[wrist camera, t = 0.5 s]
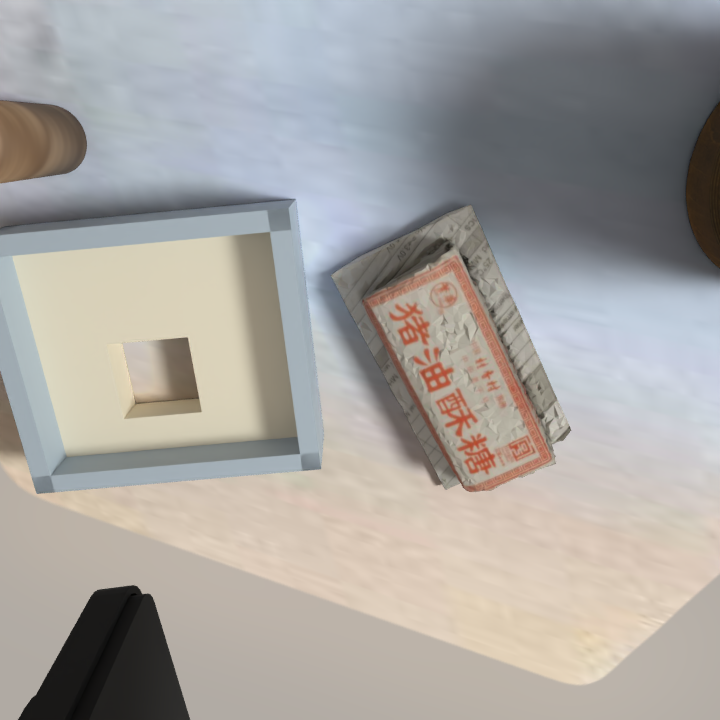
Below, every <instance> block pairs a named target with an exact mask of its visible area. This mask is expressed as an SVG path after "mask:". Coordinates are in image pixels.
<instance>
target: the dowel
mask: <svg viewBox="0 0 720 720" xmlns="http://www.w3.org/2000/svg"><path fill="white" fill-rule="evenodd" d="M86 149H87V141H86V136H85V132H84V130H83V128H82V126H81V124H80V123H79V121H78V120H77V119H76V118H75V116H73V115H72V114H71V113H70V112H69V111H67V110H65V109H63V108H61V107H59V106H55V105H47V104H36V103H24V102H13V101H2V100H0V183H6V182H13V181H19V180H26V179H33V178H40V177H46V176H53V175H60V174H66V173H69V172H71V171H73V170H74V169H76V168H77V167H78V166H79V165H80V164H81V163H82V161H83V159H84V157H85V154H86Z"/></svg>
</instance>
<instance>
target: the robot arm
mask: <svg viewBox="0 0 720 720" xmlns="http://www.w3.org/2000/svg"><path fill="white" fill-rule="evenodd" d="M18 720H190V718H189V714H188V711H187V708H186V705H185V701H184V698H183V695H182V691H181V688H180V685H179V681H178V678H177V675H176V672H175V668H174V665H173V662H172V659H171V655H170V652H169V649H168V645H167V643H166V639H165V635H164V632H163V629H162V625H161V623H160V619H159V616H158V612H157V609H156V606H155V602H154V600H153V597H152V596H151V595H150V594H142V593H141V591H140V589H139V588H138V587H137V586H134V585H132V586H124V587H116V588H109V589H101V590H97V591H95V592H94V594H93V595H92V596H91V597H90V599H89V601H88V603H87V604H86V606H85V608H84V610H83V612H82V613H81V615H80V617H79V619H78V621H77V623H76V624H75V626H74V628H73V630H72V631H71V633H70V635H69V637H68V639H67V640H66V642H65V644H64V646H63V647H62V650H61V651H60V653H59V655H58V656H57V658H56V660H55V662H54V664H53V665H52V667H51V669H50V671H49V673H48V674H47V676H46V678H45V680H44V682H43V683H42V685H41V687H40V689H39V691H38V692H37V694H36V696H34V697H33V698H32V699H31V700H30V702H29V703H28V704H27V706H26V707H25V708H24V710H23V712H22V714H21V716H20V717H19V719H18Z"/></svg>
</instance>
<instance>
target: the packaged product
mask: <svg viewBox="0 0 720 720" xmlns="http://www.w3.org/2000/svg"><path fill="white" fill-rule="evenodd" d="M331 277H332V279H333V281H334V283H335V285H336V287H337V288H338V290H339V292H340V294H341V296H342V298H343V300H344V302H345V304H346V306H347V308H348V310H349V312H350V314H351V315H352V317H353V319H354V321H355V323H356V324H357V326H358V328H359V330H360V332H361V334H362V336H363V338H364V340H365V342H366V343H367V345H368V347H369V349H370V351H371V353H372V354H373V356H374V358H375V360H376V362H377V364H378V365H379V367H380V369H381V371H382V373H383V375H384V376H385V378H386V380H387V382H388V384H389V386H390V388H391V390H392V392H393V394H394V396H395V397H396V399H397V401H398V402H399V404H400V405H401V406H402V407H403V410H404V413H405V415H406V417H407V419H408V421H409V423H410V424H411V427H412V429H413V431H414V433H415V435H416V436H417V438H418V440H419V441H420V443H421V445H422V447H423V448H424V450H425V452H426V454H427V456H428V458H429V460H430V462H431V464H432V466H433V468H434V469H435V471H436V473H437V475H438V477H439V479H440V481H441V483H442V485H443V486H444V488H445V489H446V490H447V489H448V488H450V487H453V486H455V485H458V484H460V483H461V484H462V486H463V488H464V489H465V490H467V491H469V492H478V491H485V490H486V491H491V490H493V489H495V488H497V487H498V486H500V485H502V484H505V483H507V482H509V481H511V480H513V479H515V478H517V477H524V476H526V475H528V474H533V473H534V472H535V471H537V470H539V469H542V468H544V467H547V466H551V465H554V464H555V463H556V462H555V455H554V453H553V451H554V450H553V447H552V444H554V443H556V442H559V441H563V440H564V439H565V438H566V436H567V435H568V434H569V432H570V431H571V429H570V426H569V424H568V422H567V419H566V417H565V415H564V413H563V411H562V409H561V406H560V404H559V402H558V400H557V398H556V396H555V393H554V391H553V389H552V387H551V384H550V382H549V380H548V377H547V375H546V373H545V370H544V368H543V366H542V363H541V361H540V359H539V357H538V354H537V352H536V350H535V348H534V346H533V343H532V341H531V339H530V336H529V334H528V332H527V329H526V327H525V325H524V323H523V320H522V318H521V316H520V313H519V311H518V309H517V307H516V305H515V303H514V301H513V298H512V296H511V294H510V292H509V290H508V288H507V286H506V284H505V281H504V279H503V277H502V274H501V272H500V270H499V267H498V265H497V263H496V261H495V258H494V256H493V254H492V251H491V249H490V247H489V244H488V242H487V240H486V237H485V235H484V233H483V230H482V228H481V226H480V223H479V221H478V219H477V217H476V215H475V212H474V210H473V208H472V206H471V205H468V206H465V207H462V208H460V209H457V210H454V211H451V212H449V213H446V214H444V215H443V216H441V217H439V218H437V219H435V220H434V221H432V222H430V223H428V224H426V225H424V226H423V227H421V228H419V229H417V230H415V231H413V232H411V233H409V234H406V235H404V236H402V237H400V238H398V239H395V240H393V241H391V242H389V243H387V244H385V245H383V246H381V247H378V248H376V249H374V250H372V251H370V252H368V253H366V254H364V255H362V256H360V257H358V258H356V259H355V260H353V261H352V262H350V263H348V264H347V265H345V266H344V267H342V268H341V269H339V270H337V271H336V272H334V273H333V274H332V275H331Z"/></svg>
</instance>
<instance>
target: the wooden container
mask: <svg viewBox="0 0 720 720" xmlns="http://www.w3.org/2000/svg"><path fill="white" fill-rule="evenodd" d="M686 202H687V210H688V215H689V220H690V224H691V227H692V230H693V233H694V235H695V237H696V240H697V242H698V244H699V245H700V247H701V249H702V250H703V252H704V253H705V254H706V255H707V257H708V258H709V259H710V260H711V261H712V262H713V263H714V264H715V265H716V266H717V267H719V268H720V102H719V103H718V105H717V106H716V108H715V109H714V111H713V112H712V114H711V115H710V117H709V118H708V120H707V122H706V124H705V125H704V127H703V129H702V131H701V133H700V135H699V137H698V140H697V143H696V145H695V148H694V151H693V154H692V157H691V160H690V165H689V170H688V176H687V183H686Z"/></svg>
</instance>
